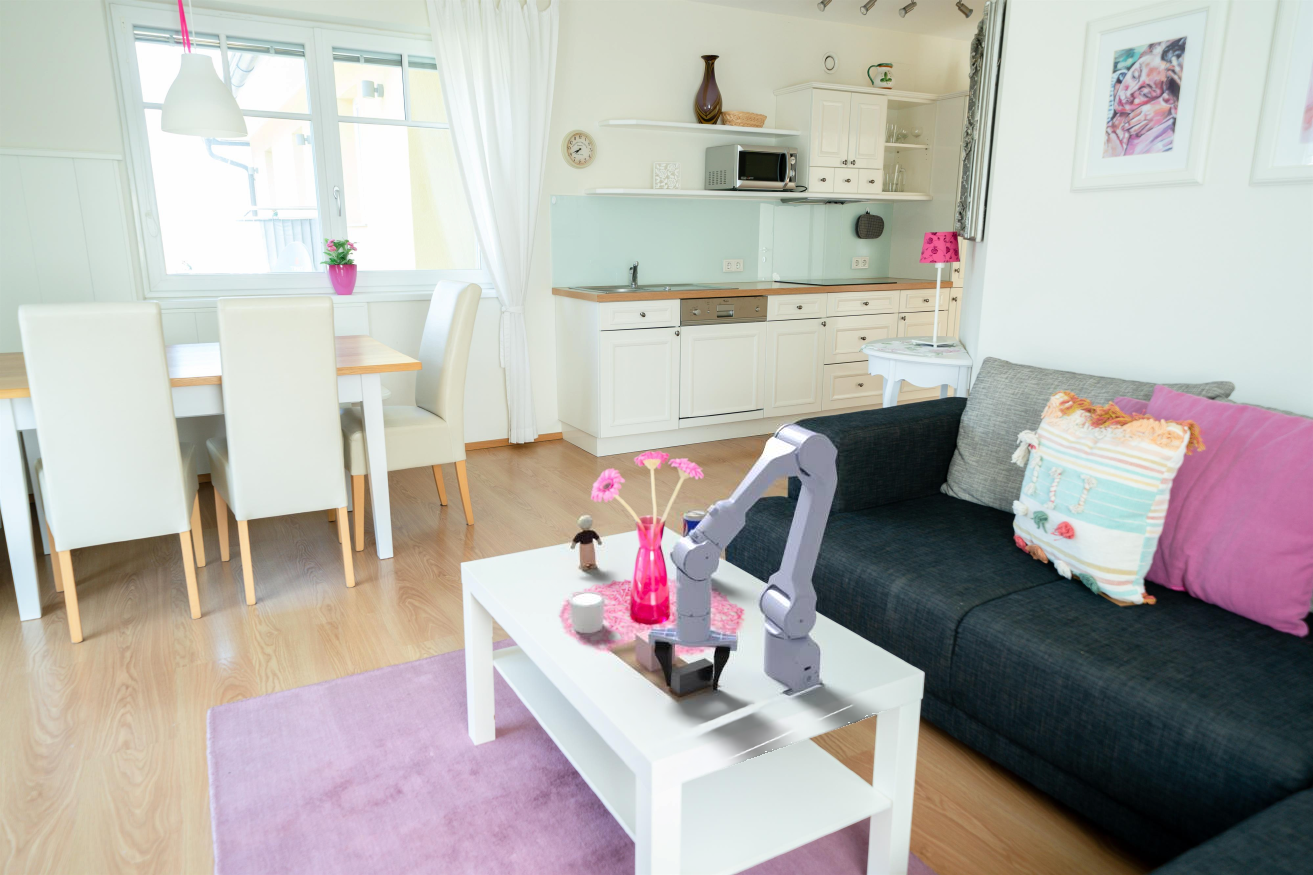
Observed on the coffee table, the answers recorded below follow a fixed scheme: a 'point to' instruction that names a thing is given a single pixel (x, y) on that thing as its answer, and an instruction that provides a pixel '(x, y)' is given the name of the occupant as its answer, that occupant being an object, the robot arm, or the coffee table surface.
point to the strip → (651, 676)
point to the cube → (648, 652)
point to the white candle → (587, 611)
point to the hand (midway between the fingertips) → (692, 685)
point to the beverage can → (691, 520)
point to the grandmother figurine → (586, 543)
